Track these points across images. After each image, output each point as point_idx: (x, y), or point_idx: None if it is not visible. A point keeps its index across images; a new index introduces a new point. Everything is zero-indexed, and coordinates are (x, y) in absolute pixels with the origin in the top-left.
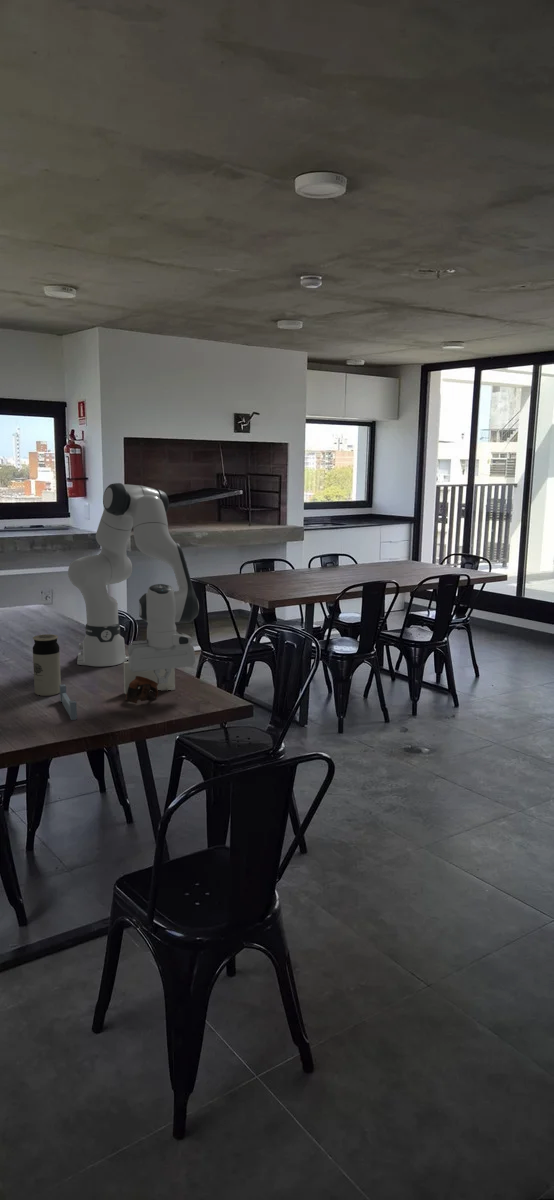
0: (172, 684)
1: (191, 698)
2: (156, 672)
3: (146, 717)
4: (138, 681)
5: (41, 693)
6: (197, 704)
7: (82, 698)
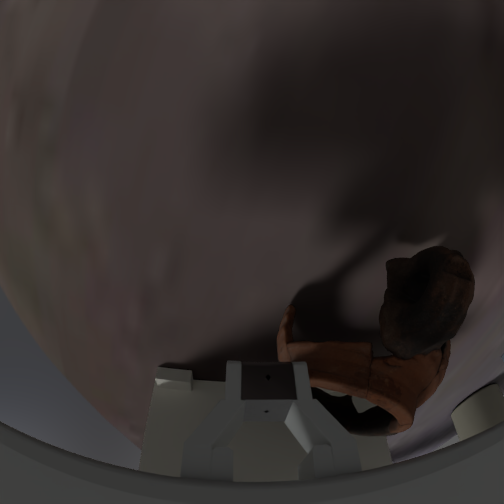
0: (164, 394)
1: (92, 227)
2: (347, 448)
3: (479, 18)
4: (431, 384)
5: (499, 388)
6: (82, 89)
7: (474, 364)
